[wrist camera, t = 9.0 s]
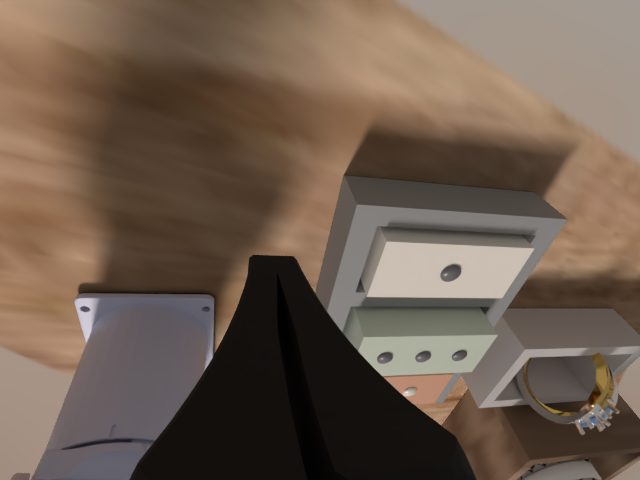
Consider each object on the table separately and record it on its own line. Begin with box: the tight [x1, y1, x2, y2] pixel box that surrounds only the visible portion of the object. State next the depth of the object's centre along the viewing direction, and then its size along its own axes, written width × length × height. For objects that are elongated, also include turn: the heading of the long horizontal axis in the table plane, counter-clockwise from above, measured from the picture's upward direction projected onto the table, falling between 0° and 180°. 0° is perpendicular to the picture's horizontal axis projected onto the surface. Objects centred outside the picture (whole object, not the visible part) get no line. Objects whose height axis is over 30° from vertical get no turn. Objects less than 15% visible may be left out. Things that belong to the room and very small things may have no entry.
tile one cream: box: [360, 226, 535, 298], centre depth 23 cm, size 4×9×3 cm, turn 80°
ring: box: [517, 353, 619, 435], centre depth 31 cm, size 7×3×8 cm, turn 135°
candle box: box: [442, 389, 640, 480], centre depth 39 cm, size 14×14×8 cm
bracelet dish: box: [462, 308, 640, 408], centre depth 33 cm, size 8×12×4 cm, turn 79°
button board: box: [315, 175, 568, 403], centre depth 27 cm, size 19×13×3 cm, turn 169°
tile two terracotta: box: [383, 373, 453, 405], centre depth 29 cm, size 4×9×3 cm, turn 79°
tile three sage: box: [343, 306, 498, 376], centre depth 25 cm, size 4×9×3 cm, turn 79°
